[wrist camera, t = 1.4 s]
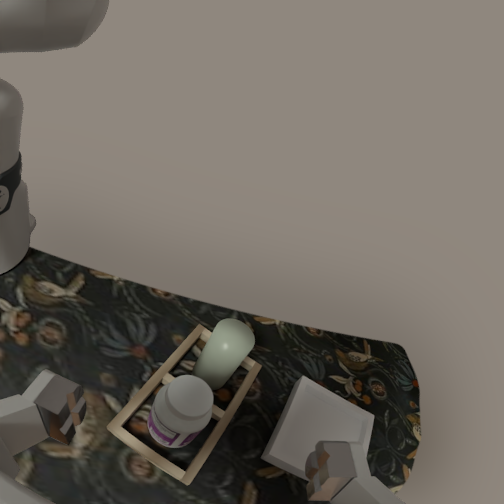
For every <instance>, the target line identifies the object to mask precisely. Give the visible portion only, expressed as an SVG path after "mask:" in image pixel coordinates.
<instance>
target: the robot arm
mask: <svg viewBox="0 0 504 504" xmlns="http://www.w3.org/2000/svg"><path fill="white" fill-rule="evenodd" d="M108 4H109V0H0V53H6V52H7V53H8V52H45V51H51V50H59V49H64V48H71V47H77V46H79V45H80V44H82V43H83V42H84V41H86V40H87V39H88V38H89V37H90V36H91V35H92V34H93V33H94V32H95V31H96V29H97V28H98V27H99V25H100V24H101V22H102V21H103V19H104V17H105V14H106V12H107V9H108ZM22 114H23V101H22V98H21V95H20V94H19V92H18V91H17V89H15V87H14V86H12V85H11V84H9V83H8V82H6V81H4V80H2V79H0V274H2V273H5V272H7V271H8V270H10V269H12V268H13V267H14V266H16V265H17V264H18V263H19V262H20V261H21V260H22V259H23V257H24V256H25V254H26V253H27V251H28V248H29V243H30V234H31V232H32V231H33V229H34V227H35V226H36V220H35V217H34V216H33V215H31V214H30V213H29V204H28V191H27V185H26V183H24V182H23V180H21V172H22V162H21V153H20V152H19V144H20V132H21V123H22V122H21V121H22ZM83 394H84V391H83V386H81V385H78V384H76V383H74V382H72V381H70V380H68V379H66V378H63V377H61V376H59V375H57V374H55V373H53V372H51V371H49V370H47V369H46V370H43V371H42V372H41V373H40V374H39V376H38V377H37V378H36V379H35V380H34V381H33V383H32V384H31V385H30V386H29V387H28V389H27V390H26V391H25V392H24V393H23V395H22V396H21V395H19V394H18V395H15V396H12V397H8V398H5V399H2V400H0V504H55V503H53V502H51V501H49V500H47V499H46V498H44V497H42V496H40V495H39V494H37V493H35V492H33V491H32V490H30V489H28V488H27V487H25V486H23V485H22V484H20V483H19V482H17V481H16V480H14V479H15V477H16V476H17V474H18V472H19V470H20V469H19V466H18V464H17V463H16V461H15V460H14V458H13V457H12V456H13V455H15V454H17V453H19V452H21V451H23V450H25V449H27V448H29V447H31V446H33V445H35V444H37V443H39V442H41V441H42V440H44V439H46V438H48V436H50V437H52V438H54V439H56V440H58V441H60V442H62V443H64V444H67V445H69V444H70V442H71V440H72V438H73V437H74V435H75V433H76V431H75V426H77V425H80V424H81V423H82V421H83V419H84V416H85V413H86V401H85V400H84V399H83V397H82V395H83ZM305 476H306V477H307V478H308V479H309V480H310V482H309V483H308V484H307V485H306V487H307V497H308V500H315V501H330V502H331V504H405V503H404V502H403V501H402V500H401V499H400V498H398V497H397V496H396V495H395V494H394V493H393V492H392V491H390V490H389V489H388V488H387V487H386V486H385V485H384V484H383V483H381V482H380V481H379V480H378V479H377V478H376V477H375V476H374V477H371V474H370V470H369V467H368V463H367V460H366V456H365V453H364V449H363V446H362V443H361V442H346V441H319V442H318V443H317V444H316V445H315V451H313V452H311V453H310V454H309V456H308V457H307V460H306V464H305Z"/></svg>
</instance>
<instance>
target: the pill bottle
mask: <svg viewBox="0 0 504 504" xmlns="http://www.w3.org/2000/svg"><path fill="white" fill-rule="evenodd" d="M212 405H213V393H212V390H211V388H210V387H209V385H208V384H207V383H206V382H205V381H203V380H202V379H200V378H198V377H196V376H192V375H182V376H179V377H177V378H175V379H174V380H173V381H172V382H170V383H168V384H166V385H165V386H163V387H162V388H161V389H160V390H159V392H158V393H157V395H156V397H155V400H154V403H153V406H152V408H151V411H150V414H149V417H148V429H149V431H150V433H151V435H152V437H153V438H154V439H155V440H156V441H157V442H158V443H160V444H162V445H164V446H167V447H170V448H179V447H183V446H185V445H187V444H189V443H190V442H191V441H192V440H193V439H194V438H195V437H196V436H197V435H198V434H199V433H200V432H201V431H202V430H203V429H204V428H205V427H206V426H207V424H208V423H209V421H210V419H211V416H212Z"/></svg>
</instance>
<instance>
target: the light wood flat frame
mask: <svg viewBox="0 0 504 504" xmlns="http://www.w3.org/2000/svg"><path fill="white" fill-rule="evenodd" d="M211 334H212V332H210V331H209V330H207V329H206V328H204V327H203V326H202V325H200V324H199V325H198V326H197V327H196V328H195V329H194V331H193V332H192V333H191V334H190V335H189V336H188V337H187V338H186V340H185V341H184V342H183V343H182V344H181V345H180V346H179V347H178V348H177V350H176V351H175V352H174V353H173V354H172V355H171V356H170V357H169V358H168V359H167V361H166V362H165V363H164V364H163V365H162V366H161V367H160V368H159V369H158V371H157V372H156V373H155V374H154V375H153V376H152V377H151V378H150V379H149V381H148V382H147V383H146V384H145V385H144V386H143V387H142V388H141V389H140V390H139V392H138V393H137V394H136V395H135V396H134V397H133V398H132V399H131V400H130V401H129V403H128V404H127V405H126V406H125V407H124V408H123V409H122V410H121V411H120V412H119V413H118V415H117V416H116V417H115V418H114V419H113V420H112V421H111V422H110V423H109V424H108V426H107V429H108V430H109V431H110V432H111V433H113V434H114V435H115V436H116V437H117V438H119V439H120V440H121V441H123V442H124V443H125V444H126V445H128V446H129V447H130V448H132V449H133V450H134V451H136V452H137V453H139V454H140V455H141V456H143V457H144V458H146V459H147V460H148V461H150V462H151V463H153V464H154V465H156V466H157V467H159V468H160V469H162V470H163V471H165V472H166V473H168V474H169V475H171V476H173V477H174V478H176V479H177V480H179V481H181V482H182V483H184V484H186V485H189V484H190V483H191V482H192V480H193V479H194V477H195V476H196V474H197V473H198V471H199V470H200V468H201V467H202V465H203V464H204V462H205V460H206V459H207V457H208V456H209V454H210V453H211V451H212V449H213V448H214V446H215V445H216V443H217V441H218V440H219V438H220V437H221V435H222V433H223V432H224V430H225V429H226V427H227V425H228V424H229V422H230V420H231V419H232V417H233V415H234V414H235V412H236V410H237V409H238V407H239V405H240V403H241V402H242V400H243V398H244V397H245V395H246V393H247V391H248V390H249V388H250V386H251V384H252V383H253V381H254V379H255V377H256V376H257V374H258V372H259V370H260V369H261V367H262V365H260V364H259V363H257V362H255V361H254V360H252V359H251V358H249V357H248V356H246V357H245V359H244V360H243V361H242V362H241V364H240V365H241V366H242V367H244V368H245V369H247V370H248V371H249V372H248V374H247V376H246V377H245V379H244V381H243V382H242V384H241V385H240V387H239V389H238V390H237V392H236V394H235V395H234V397H233V399H232V400H231V402H230V403H229V405H228V407H227V408H226V410H225V411H223V410H222V409H220V408H219V407H217V406H215V405H214V404H213V405H212V416H211V417H212V418H214V419H215V420H217V421H218V422H217V424H216V426H215V427H214V429H213V430H212V432H211V433H210V435H209V436H208V438H207V439H206V441H205V442H204V444H203V446H202V447H201V449H200V450H199V452H198V453H197V455H196V456H195V458H194V459H193V460H192V462H191V463H190V465H189V466H188V468H187V469H186V471H184V470H182V469H180V468H179V467H177V466H176V465H174V464H172V463H171V462H169V461H168V460H166V459H165V458H163V457H162V456H160V455H159V454H157V453H156V452H155V451H153V450H152V449H150V448H149V447H147V446H146V445H145V444H143V443H142V442H141V441H139V440H138V439H136V438H135V437H134V436H133V435H131V434H130V433H129V432H127V431H126V430H125V429H123V428H122V426H123V425H124V424H125V423H126V422H127V421H128V419H129V418H130V417H131V416H132V415H133V414H134V413H135V411H136V410H137V409H138V408H139V407H140V406H141V405H142V403H143V402H144V401H145V400H146V399H147V398H148V397H149V395H150V394H151V393H152V392H153V391H154V390H155V388H156V387H157V386H158V385H159V384H160V383H163V384H164V385H166V384H168V383H170V382H172V381H173V380H174V379H175V378H174V377H173V376H172V375H170V374H169V372H170V371H171V370H172V369H173V368H174V367H175V365H176V364H177V363H178V362H179V361H180V360H181V358H182V357H183V356H184V355H185V354H186V353H187V351H188V350H189V349H190V348H191V347H192V346H193V344H194V343H195V342H196V341H197V340H198V339H199V338H201V339H202V340H203V341H205V342H206V343H207V342H208V340H209V338H210V336H211Z"/></svg>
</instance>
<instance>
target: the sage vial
mask: <svg viewBox="0 0 504 504" xmlns="http://www.w3.org/2000/svg"><path fill="white" fill-rule="evenodd" d="M254 344H255V337H254V334H253V332H252V331H251V329H250V328H249V327H248V326H247V325H246V324H244V323H243V322H241V321H239V320H236V319H224V320H222V321H220V322H219V323H218V324H217V325H216V327H215V329H214V331H213V332H212V334H211V336H210V338H209V340H208V342H207V343H206V345H205V347H204V349H203V351H202V352H201V354H200V356H199V358H198V360H197V362H196V363H195V365H194V367H193V371H192V373H193V376H196V377H198V378H200V379H202V380H203V381H205V382H206V383H207V384H208V385H209V387H210V388H211V390H217V389H220V388H221V387H222V386H223V385H224V384H225V383H226V382H227V380H228V379H229V378H230V377H231V375H232V374H233V373H234V371H235V370H236V369H237V368H238V366H239V365H240V364H241V362H242V361H243V360H244V359H245V357H246V356H247V355H248V353H249V352H250V351H251V349H252V348H253V347H254Z"/></svg>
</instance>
